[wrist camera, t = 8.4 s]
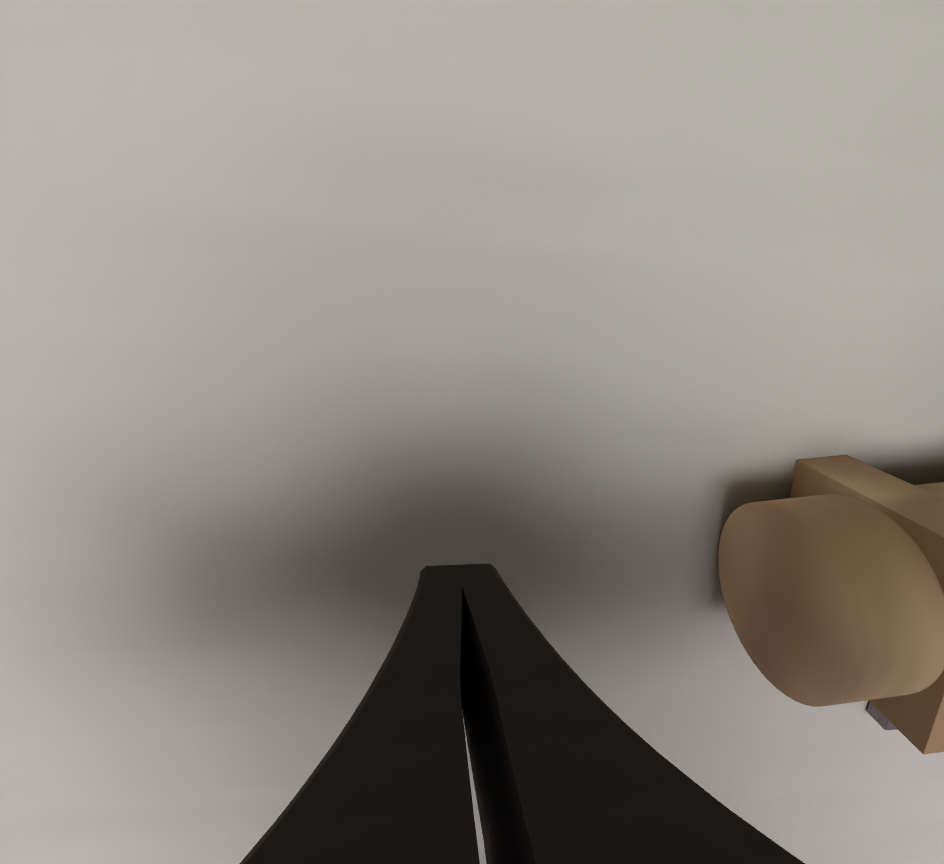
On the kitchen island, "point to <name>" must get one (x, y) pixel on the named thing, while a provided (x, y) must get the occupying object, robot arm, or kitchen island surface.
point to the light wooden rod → (844, 592)
